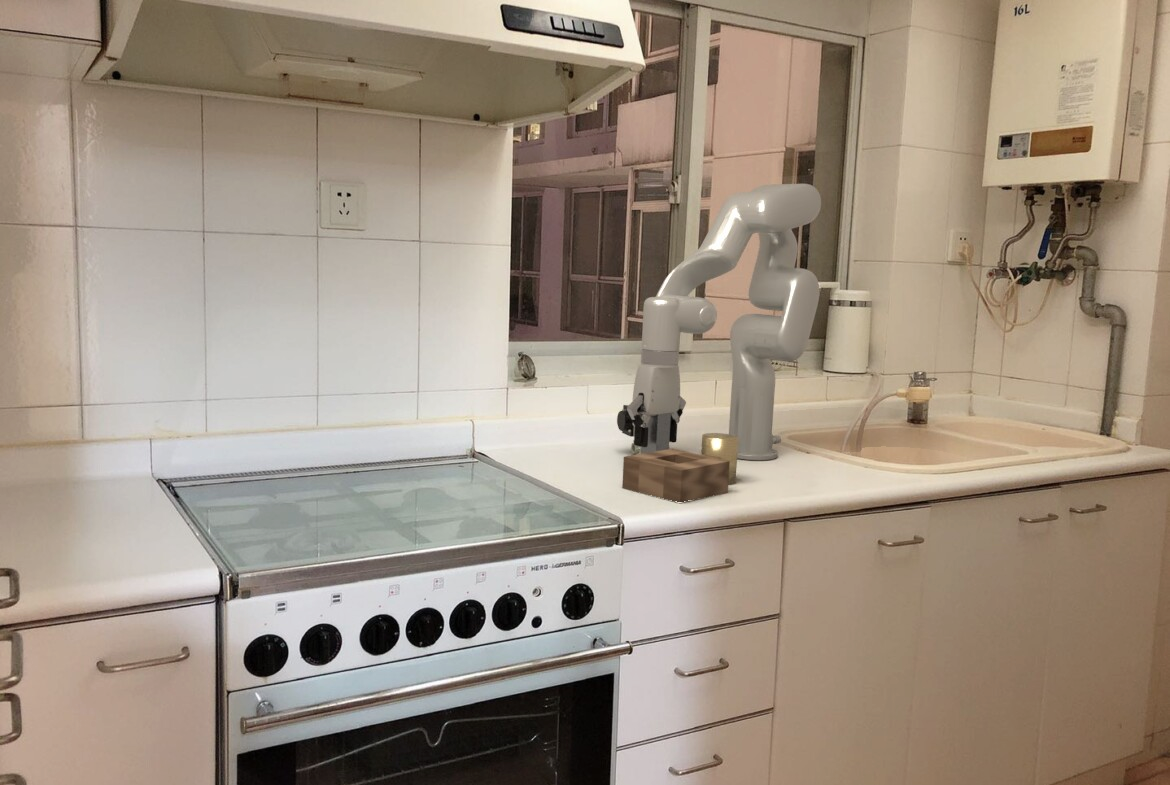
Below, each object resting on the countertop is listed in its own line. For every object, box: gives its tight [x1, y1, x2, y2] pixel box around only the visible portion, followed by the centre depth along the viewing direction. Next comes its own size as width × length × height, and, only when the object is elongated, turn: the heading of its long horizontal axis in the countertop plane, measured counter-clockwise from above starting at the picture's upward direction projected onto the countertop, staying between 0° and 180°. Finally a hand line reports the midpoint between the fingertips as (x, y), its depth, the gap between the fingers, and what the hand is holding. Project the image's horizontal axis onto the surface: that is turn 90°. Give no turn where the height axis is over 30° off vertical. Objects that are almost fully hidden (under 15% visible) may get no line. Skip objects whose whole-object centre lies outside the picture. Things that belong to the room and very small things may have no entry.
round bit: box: [700, 432, 738, 486], centre depth 192 cm, size 7×7×9 cm
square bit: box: [641, 413, 671, 454], centre depth 200 cm, size 4×4×12 cm
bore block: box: [621, 448, 730, 503], centre depth 184 cm, size 14×14×6 cm
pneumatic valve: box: [616, 404, 643, 455], centre depth 215 cm, size 6×12×12 cm, turn 112°
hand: (655, 443), depth 200 cm, fingers open, 8 cm apart
